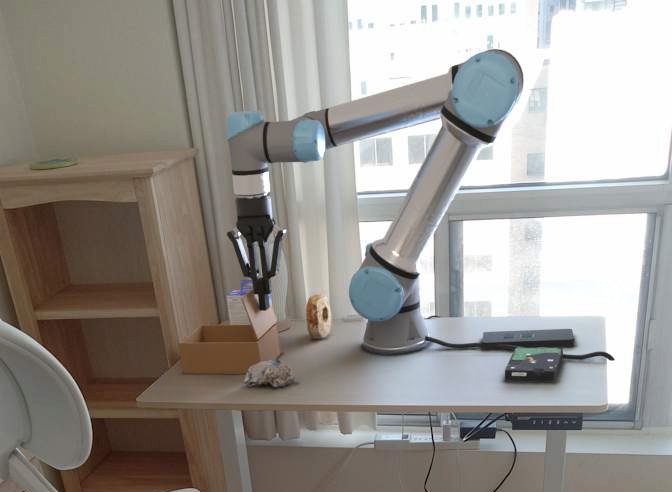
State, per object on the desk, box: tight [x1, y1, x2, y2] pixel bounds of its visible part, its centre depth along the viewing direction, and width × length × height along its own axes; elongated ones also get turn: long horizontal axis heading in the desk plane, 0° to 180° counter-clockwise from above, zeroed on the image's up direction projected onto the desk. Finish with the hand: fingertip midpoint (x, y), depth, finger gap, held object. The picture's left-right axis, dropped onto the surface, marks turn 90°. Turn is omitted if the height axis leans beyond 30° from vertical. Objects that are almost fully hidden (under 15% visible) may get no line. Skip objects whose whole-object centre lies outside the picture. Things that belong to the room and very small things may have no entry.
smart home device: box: [482, 328, 575, 350], centre depth 210 cm, size 8×2×20 cm
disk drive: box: [504, 347, 564, 383], centre depth 193 cm, size 10×3×15 cm
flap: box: [241, 289, 278, 340], centre depth 207 cm, size 9×14×1 cm
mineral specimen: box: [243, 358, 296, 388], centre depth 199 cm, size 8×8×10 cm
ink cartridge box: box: [225, 279, 273, 325], centre depth 224 cm, size 10×6×14 cm, turn 78°
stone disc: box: [305, 294, 332, 340], centre depth 224 cm, size 10×4×10 cm, turn 161°
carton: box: [177, 323, 282, 375], centre depth 213 cm, size 19×14×7 cm
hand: (264, 308), depth 206 cm, fingers closed
